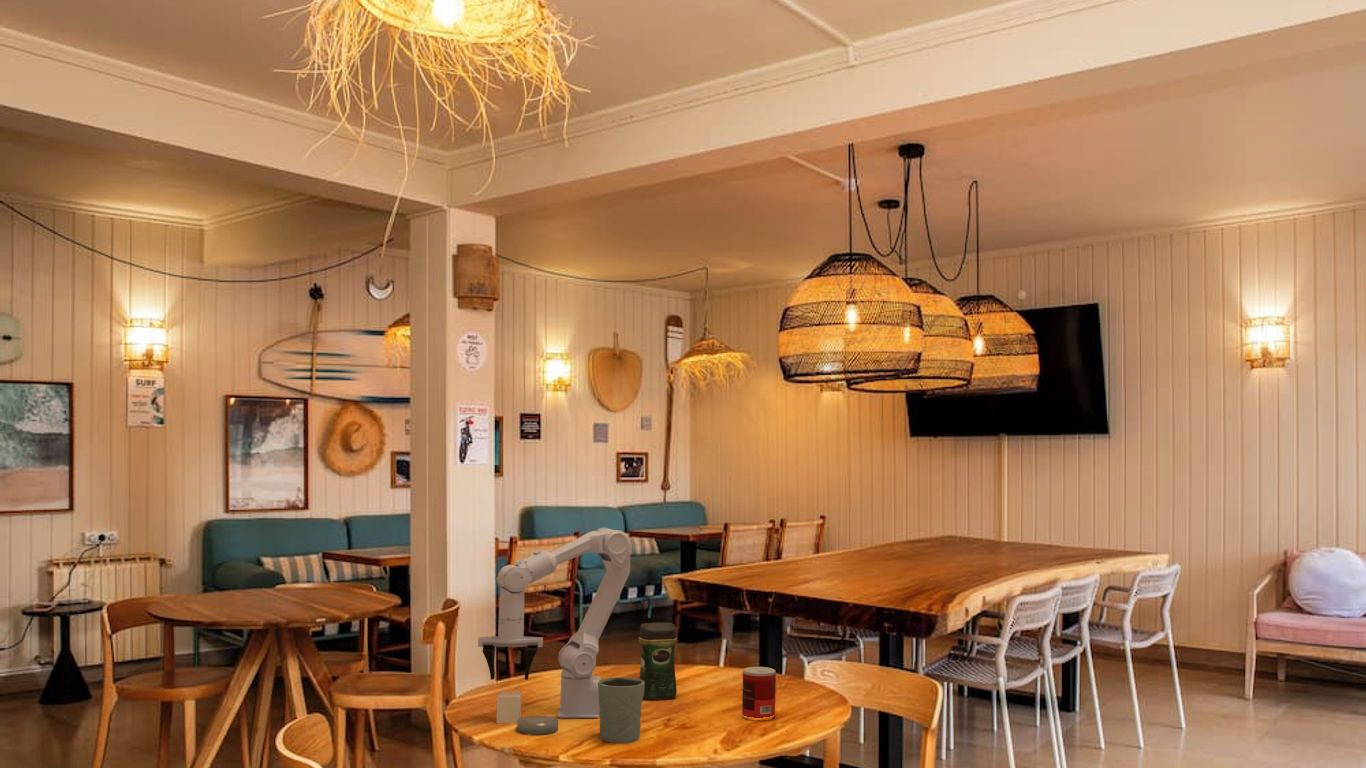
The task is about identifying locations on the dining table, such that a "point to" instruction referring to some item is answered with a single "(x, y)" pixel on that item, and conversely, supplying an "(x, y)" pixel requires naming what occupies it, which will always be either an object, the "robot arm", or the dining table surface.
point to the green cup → (620, 709)
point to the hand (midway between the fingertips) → (509, 678)
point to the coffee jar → (658, 660)
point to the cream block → (508, 707)
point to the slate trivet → (537, 725)
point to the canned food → (758, 692)
